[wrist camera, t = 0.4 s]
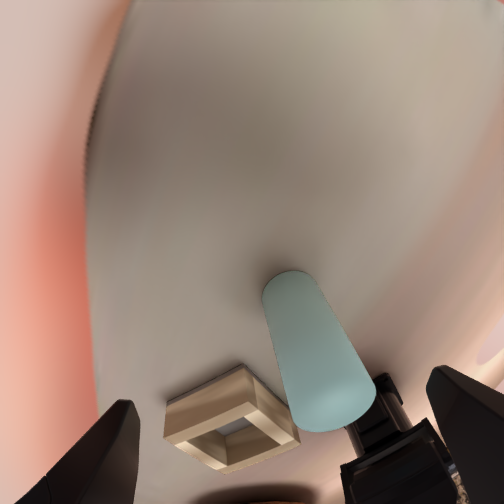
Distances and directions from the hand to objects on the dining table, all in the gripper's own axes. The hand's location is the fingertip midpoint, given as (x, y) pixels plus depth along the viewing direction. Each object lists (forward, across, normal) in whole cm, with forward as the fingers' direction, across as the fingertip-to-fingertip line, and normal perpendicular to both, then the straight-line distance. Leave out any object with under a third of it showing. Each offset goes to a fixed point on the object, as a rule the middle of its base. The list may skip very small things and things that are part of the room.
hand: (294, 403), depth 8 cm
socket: (+14, +2, +15) cm, 21 cm away
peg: (+13, -3, +4) cm, 14 cm away
